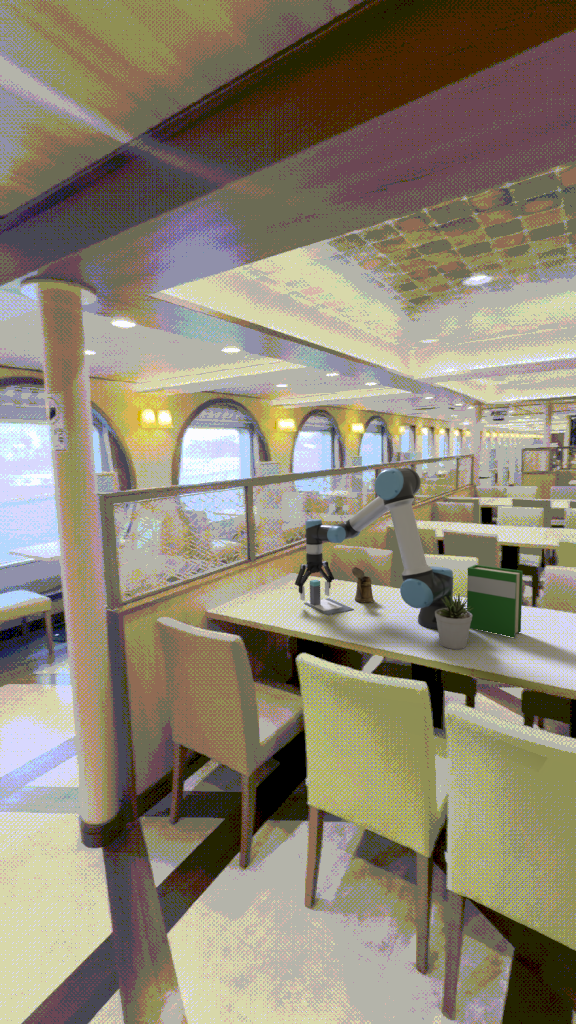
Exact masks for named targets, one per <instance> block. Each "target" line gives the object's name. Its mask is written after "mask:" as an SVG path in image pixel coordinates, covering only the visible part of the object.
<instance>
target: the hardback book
mask: <svg viewBox="0 0 576 1024" xmlns="http://www.w3.org/2000/svg"><path fill="white" fill-rule="evenodd" d="M523 572H524V571H523V570H518V569H510V568H502V567H495V566H488V565H481V564H474V565H472V566H469V567H467V582H466V583H467V584H466V585H467V589H466V590H467V592H466V593H467V594H466V597H467V598H468V600H467V598H466V600H467V602H466V608H468V607H469V608H468V609H466V610H469V609H471V610H469V611H468V612H470V613H471V614H472V621H471V624H470V629H471V628H473V629H472V630H475V629H478V630H477V631H479V630H483V631H482V632H484V631H488V632H492V633H497V634H502V635H506V636H510V637H515V638H516V634H518V633H517V632H522V605H523V601H522V599H523ZM467 595H468V596H467ZM470 606H471V607H470ZM472 608H473V609H472ZM488 632H487V633H488ZM492 633H491V634H492ZM497 634H496V635H497Z"/></svg>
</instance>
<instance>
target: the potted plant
mask: <svg viewBox="0 0 576 1024" xmlns="http://www.w3.org/2000/svg"><path fill="white" fill-rule="evenodd" d="M467 596H468V595H467V594H466V596H465V599H464V601H463V602H462V600H463V598H461V597H460V594H458V595H456V597H455V596H453V599H452V595H451V597H450V596H449V597H450V598H451V603H450V602H449V600H448V599H447V598H446V597H444V598H446V599H447V600H446V599H445V601H446V603H445V602H444V601H443V602H444V603H445V605H446V606H447V608H442V609H438V610H436V611H435V617H436V621H437V628H438V629H437V633H438V640H439V643H440V645H441V646H442V647H445V648H447V649H452V650H461V649H464V648H466V646H467V643H468V638H469V633H470V629H471V628H470V624H471V621H472V614H471V613H470V612H468V611H469V610H471V609H469V610H467V609H468V608H469V607H468V608H467V600H468V598H467ZM447 601H448V602H447ZM470 607H471V606H470ZM472 609H473V608H472Z"/></svg>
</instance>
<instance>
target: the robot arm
mask: <svg viewBox="0 0 576 1024" xmlns="http://www.w3.org/2000/svg"><path fill="white" fill-rule="evenodd" d="M421 483H422V482H421V476H420V475H419V474H418V472H417V471H415V470H414V469H412V468H409V467H407V468H406V467H403V468H394V467H392V468H387V469H385V470H384V469H383V470H382V471H381V472H380V473H379V474H378V475H377V477H376V478H375V481H374V491H375V494H376V495H377V497H376V498H374V499H373V500H371V501H370V502H369V503H368V504H367V505H365V506H364V507H363V508H362V509H360V510H359V511H358V512H356V513H355V514H354V515H353V516H351V517H350V518H349V519H348V520H346V521H345V522H343V523H338V524H337V523H336V524H324V523H323V521H322V519H319V518H311V519H307V520H306V522H305V529H304V530H305V550H306V551H305V552H306V553H305V554H306V555H305V556H306V557H305V560H306V564H304V563H303V564H302V563H301V564H300V567H299V572H298V574H297V576H296V579H295V581H294V585H296V586H297V587H298V593H299V595H300V596H299V597H300V598H299V599H300V600H302V601H303V602H304V601H305V600H306V598H305V597H306V595H305V594H306V593H305V591H306V590H305V587H306V586H304V585H305V583H306V582H307V580H308V579H309V577H310V575H312V574H316V573H319V574H321V576H322V577H323V578H324V579H325V581H324V596H327V597H330V589H331V585H332V584H331V583H332V582H333V581H335V577H334V575H333V572H332V570H331V568H330V566H329V561H326V560H323V559H324V557H323V556H324V555H323V542H327V543H333V544H341V543H343V542H344V541H345V540H348V539H354V538H356V537H358V536H359V535H360V534H361V531H363V530H364V529H365V528H367V527H368V526H369V525H371V524H372V523H373V522H375V521H376V520H378V519H379V518H381V517H382V516H383V515H385V514H386V513H387V512H388V511H389V512H390V517H391V521H392V525H393V528H394V532H395V537H396V541H397V546H398V549H399V553H400V557H401V561H402V565H403V571H402V572H401V579H402V583H401V585H400V588H399V589H400V590H399V592H400V593H399V594H400V596H401V599H402V600H403V601H404V603H405V604H407V605H408V606H409V607H411V608H414V609H419V613H418V616H417V623H418V624H419V625H421V626H422V627H426V628H429V629H434V630H438V628H437V621H436V617H435V611H436V610H438V609H442V608H447V606H446V605H445V603H446V601H445V599H446V598H447V599H448V600H449V602H450V603H451V598H450V597H451V595H452V599H453V600H454V594H453V593H454V572H453V570H452V569H450V568H448V567H447V568H446V567H441V566H429V565H428V564H427V559H426V555H425V552H424V548H423V544H422V541H421V536H420V532H419V528H418V523H417V521H416V516H415V512H414V509H413V505H412V503H413V502H414V501H415V495H416V494H417V493H418V492H419V490H420V488H421V485H422V484H421ZM449 596H450V597H449ZM444 597H446V598H444ZM447 599H446V600H447ZM443 601H444V602H445V603H444V602H443ZM447 602H448V601H447Z"/></svg>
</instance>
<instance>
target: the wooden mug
mask: <svg viewBox="0 0 576 1024" xmlns="http://www.w3.org/2000/svg"><path fill="white" fill-rule="evenodd" d="M351 573H352V575H353V576H354V577H356V578H357V580H356V591H355V596H354V601H355V602H356V603H363V604H369V603H370V604H371V603H372V602H374V595H373V588H372V579H371V578H372V577H370V576H368V575H365V572H364V571H363V570H362V569H361V568H359V567H356V566H355V567H353V568H352V569H351Z"/></svg>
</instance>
